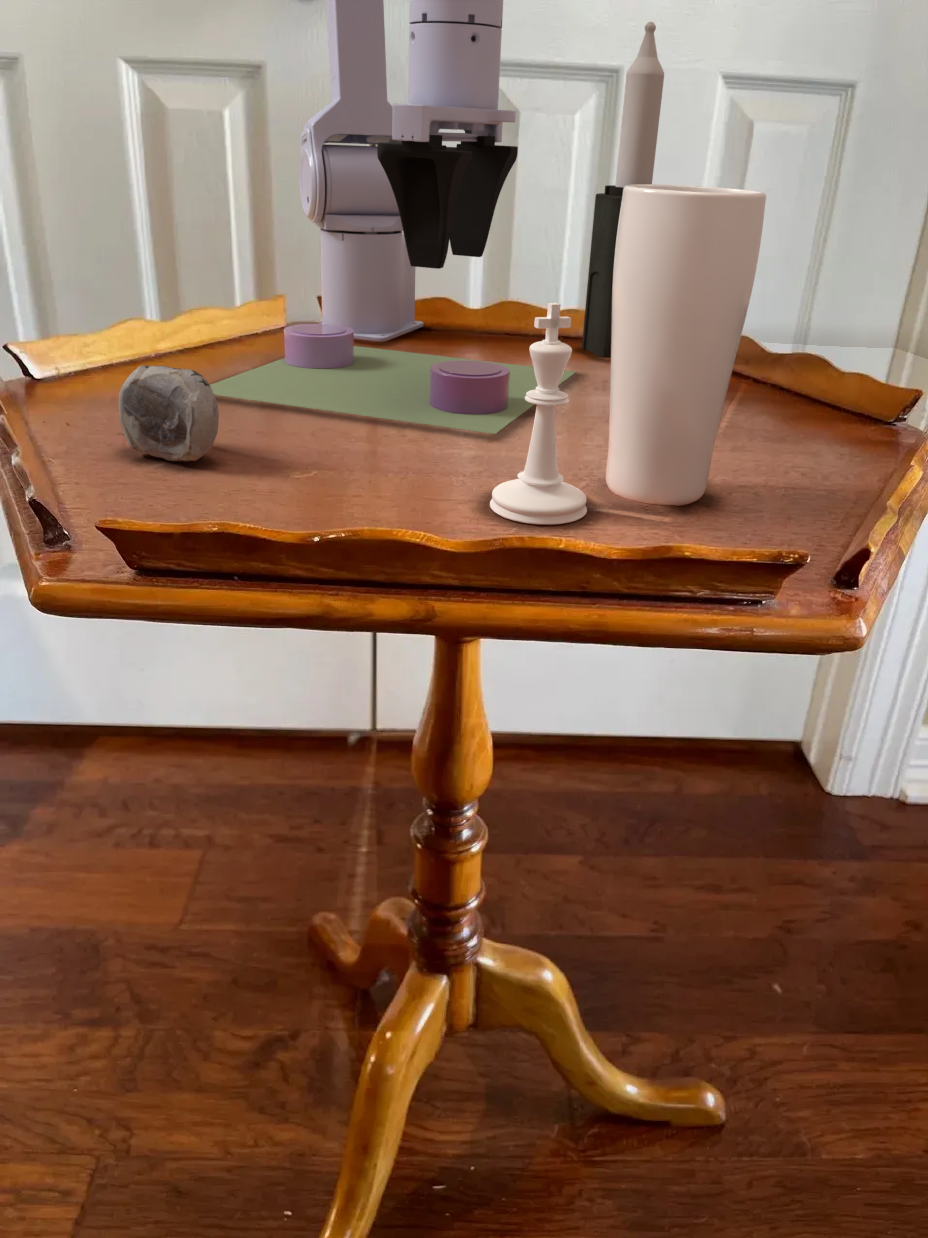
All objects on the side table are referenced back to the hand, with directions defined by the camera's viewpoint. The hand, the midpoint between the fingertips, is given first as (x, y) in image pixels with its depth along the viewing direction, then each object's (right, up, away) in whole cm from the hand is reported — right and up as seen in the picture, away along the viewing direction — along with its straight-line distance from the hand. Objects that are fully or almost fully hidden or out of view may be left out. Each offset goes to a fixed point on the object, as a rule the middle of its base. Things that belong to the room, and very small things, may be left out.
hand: (448, 261), depth 67 cm
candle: (+14, -1, +20) cm, 24 cm away
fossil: (-15, -15, -11) cm, 24 cm away
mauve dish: (+1, -10, +1) cm, 10 cm away
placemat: (-4, -7, +6) cm, 10 cm away
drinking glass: (+11, -18, -14) cm, 25 cm away
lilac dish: (-10, -4, +11) cm, 16 cm away
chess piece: (+5, -19, -17) cm, 25 cm away
